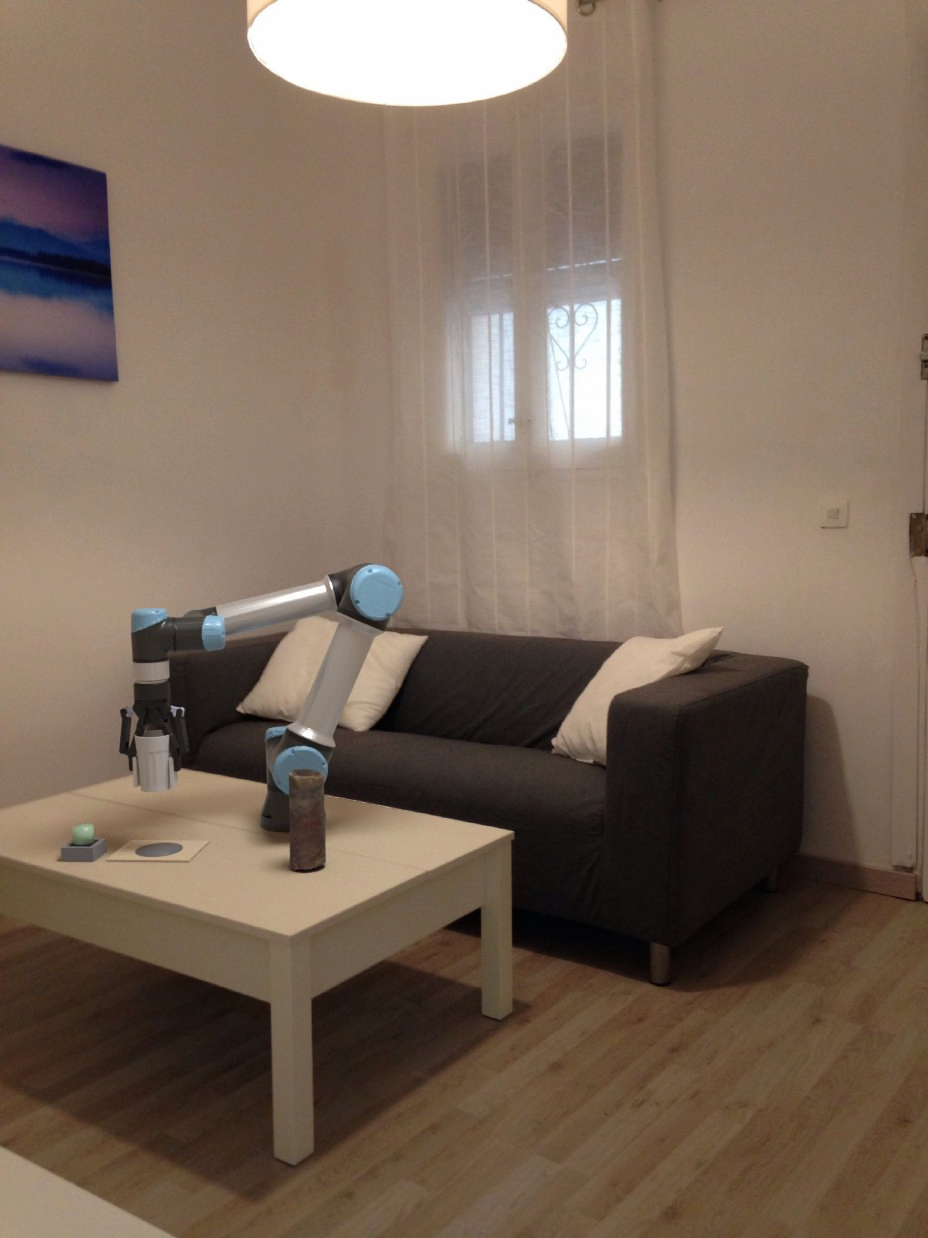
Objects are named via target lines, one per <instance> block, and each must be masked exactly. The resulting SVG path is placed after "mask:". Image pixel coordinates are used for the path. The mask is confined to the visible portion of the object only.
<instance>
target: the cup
mask: <svg viewBox="0 0 928 1238" xmlns="http://www.w3.org/2000/svg"><path fill="white" fill-rule="evenodd" d="M173 733H174V732H173ZM173 733H172V734H173ZM172 734H171V735H172ZM133 736H135V743H136V750H137V754H136V755H137V756H138V765H139V773H140V781H141V785H140V791H141V792H143V793H161V792H166V791H169V790H171V789H172V788H170V772H169V757H171V756H172V753H171V751H170V749H169V735H166V736H164V735H163V732H162V730H161V729H157V730H145V731H144V734H143V737H138V736H136V735H134V734H133Z"/></svg>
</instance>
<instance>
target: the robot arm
mask: <svg viewBox="0 0 928 1238" xmlns="http://www.w3.org/2000/svg"><path fill="white" fill-rule="evenodd" d="M403 601H404V588H403V584H402V581H401V579H400V578H399V577H398V575H397V574H396V573H395V572H393V571H392V569H390V568H388V567H386V566H383V565H381V564H374V563H366V562H365V563H360V564H356V565H353V566H352V567H349V568H346V569H343V570H340V571H337V572H333V573H329V574H326V575H324V577H323V579H322V580H319V581H314V582H311V583H306V584H303V585H297V586H293V587H289V588H286V589H281V590H278V591H273V592H270V593H269V592H268V593H264V594H260V595H257V596H253V597H248V598H244V599H240V600H239V599H238V600H235V601H231V602H227V603H223V604H219V605H218V604H217V605H215V606H210V607H206V608H203V609H202V608H201V609H191V610H189V611H186V612H185V613H184V614H183V615H182V616H179V617H178V616H177V617H176V616H173V617H172V616H169V614H168V611H167V609H166V608H163V607H145V608H143V607H142V608H137V609H135V610H134V611H132V612H131V614H130V639H131V640H130V641H131V642H130V643H131V655H132V657H131V658H132V659H131V660H132V680H133V681H135V682H134V683H133V699H134V702H133V705H132V706H125V707H123V708H121V709H120V710H119V713H120V714H119V715H120V717H121V727H120V738H119V746H118V747H119V748H118V752H119V754H121V755H125V756H127V759H128V771H129V772H132V775H133V777H132V778H133V781H132V782H133V788H139V787H141V781H140V773H139V765H138V756H137V750H136V743H135V736H134V735H136V736H138V737H143V734H144V731H146V728H147V726H148V725H156V726H157V725H158V728H159V730H162V732H163V735H164V736H166V735H169V749H170V751H171V753H172V756H171V757H169V772H170V788H171V789H174V788H175V787H177V786H178V785H179V783H178V779H179V778H178V775H179V774H178V772H179V771H181V770H182V755H183V756H184V755H185V754H186V753H188V752H190V744H189V738H188V733H187V727H186V721H185V715H186V707H184V706H181V707H177V706H173V704H172V702H171V682H170V681H169V680H168V679H169V678H170V656H169V653H176V652H178V653H179V652H181V653H182V652H211V651H220V650H223V649H224V648H225V647H226V638H228V637H229V638H230V637H233V636H237V635H241V634H246V633H249V632H253V631H257V630H262V629H266V628H270V627H274V626H279V625H283V624H286V623H290V622H295V621H299V620H303V619H304V620H305V619H307V618H312V617H316V616H320V615H324V614H328V613H331V614H333V615H334V616H337V620H338V624H337V626H336V630H335V632H334V633H333V635H332V639H331V641H330V643H329V646H328V648H327V649H326V653H325V655H324V657H323V660H322V662H321V664H320V666H319V669H318V672H317V673H316V676H315V678H314V680H313V682H312V685H311V687H310V689H309V691H308V694H307V696H306V698H305V701H304V703H303V706H302V708H301V710H300V713H299V715H298V717H297V720H296V721H294V722H292V723H290V724H288V725H285V726H284V725H283V726H275V727H270V728H268V729H266V731H265V739H264V743H265V759H266V760H265V761H266V786H267V787H266V789H267V790H266V791H267V792H266V796H265V797H264V798H265V799H264V802H263V806H262V809H261V813H260V826H261V827H262V828H264V829H266V830H268V831H269V830H270V831H276V832H290V818H289V816H290V815H289V772H291V771H292V770H294V769H311V770H314V771H319V772H322V773H323V774H324V784H325V783H326V780H327V778H328V772H329V762H330V760H331V758H332V756H333V753H334V750H335V749H336V743H335V740H334V733H335V731H336V728H337V726H338V724H339V721H340V720H341V717H342V716H343V715H342V714H343V712H344V710H345V708H346V705H347V703H348V700H349V698H350V696H351V693H352V692H353V690H354V687H355V684H356V682H357V680H358V678H359V675H360V674H361V673H360V672H361V670H362V668H363V665H364V663H365V662H366V659H367V656H368V654H369V652H370V649H371V647H372V645H373V642H374V640H375V639H376V637H378V636H381V635H383V634H384V633H385V632H386V629H387V627H388V625H389V623H390V621H391V618H392V617H393V616H394V615H395V614H396V613H397V612H398V610H399V609H400V607H401V605H402V604H403ZM171 713H172V715H173V718H174V722H175V723H174V724H175V729H176V735H175V734H174V733H175V732H174V731H173V728H172V726H171V721H170V719H169V715H170V714H171ZM133 715H136V717H138V720H137V723H136V726H135V727H136V728H135V730H134V734H133V737H132V740H131V731H132V717H133ZM172 733H173V734H172ZM171 734H172V735H171ZM176 736H177V738H176ZM130 740H131V741H130ZM130 742H131V743H130ZM326 815H327V814H326V812H325V823H326V820H327V819H326V818H327V816H326Z"/></svg>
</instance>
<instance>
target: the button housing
mask: <svg viewBox="0 0 928 1238" xmlns="http://www.w3.org/2000/svg"><path fill="white" fill-rule="evenodd" d="M94 839H95V841H94V842H93V843H91V844H87V845H75V844H73V839H71V840H70V841H69V842H67V843H65V844H63V846H61V847H60V857H61V858H60V859H61V862H65V863H66V862H70V863H71V862H73V863H74V862H76V863H94V862H95V861H97V860H98V859H99V858H101V857H102V856H103V855H105V854H106V853H107V852H108V847H107V846H108V844H107V843H108V842H107V838H106V837H94Z"/></svg>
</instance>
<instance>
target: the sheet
mask: <svg viewBox="0 0 928 1238" xmlns="http://www.w3.org/2000/svg"><path fill="white" fill-rule="evenodd" d="M210 843H211V841H210V840H183V839H182V840H178V839H177V840H173V839H171V840H170V839H169V840H168V839H164V840H163V839H162V840H161V839H159V840H158V839H131V840H129V841H128V842H127V843H125V844H124V845H122V846H121V847H120V848H119V849H117V850H116V851H115V852H113V853H112V854H111V855H110V856H108V857H107V858H106V859H105V862H122V863H123V862H125V863H127V862H130V863H131V862H133V863H138V862H139V863H141V862H142V863H190V862H192V860H193V859H194V858H195V857H196V856H197V855H198V854H200V852H202V851H203V849H205V848H206V847H207V846H208V845H209V844H210Z"/></svg>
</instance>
